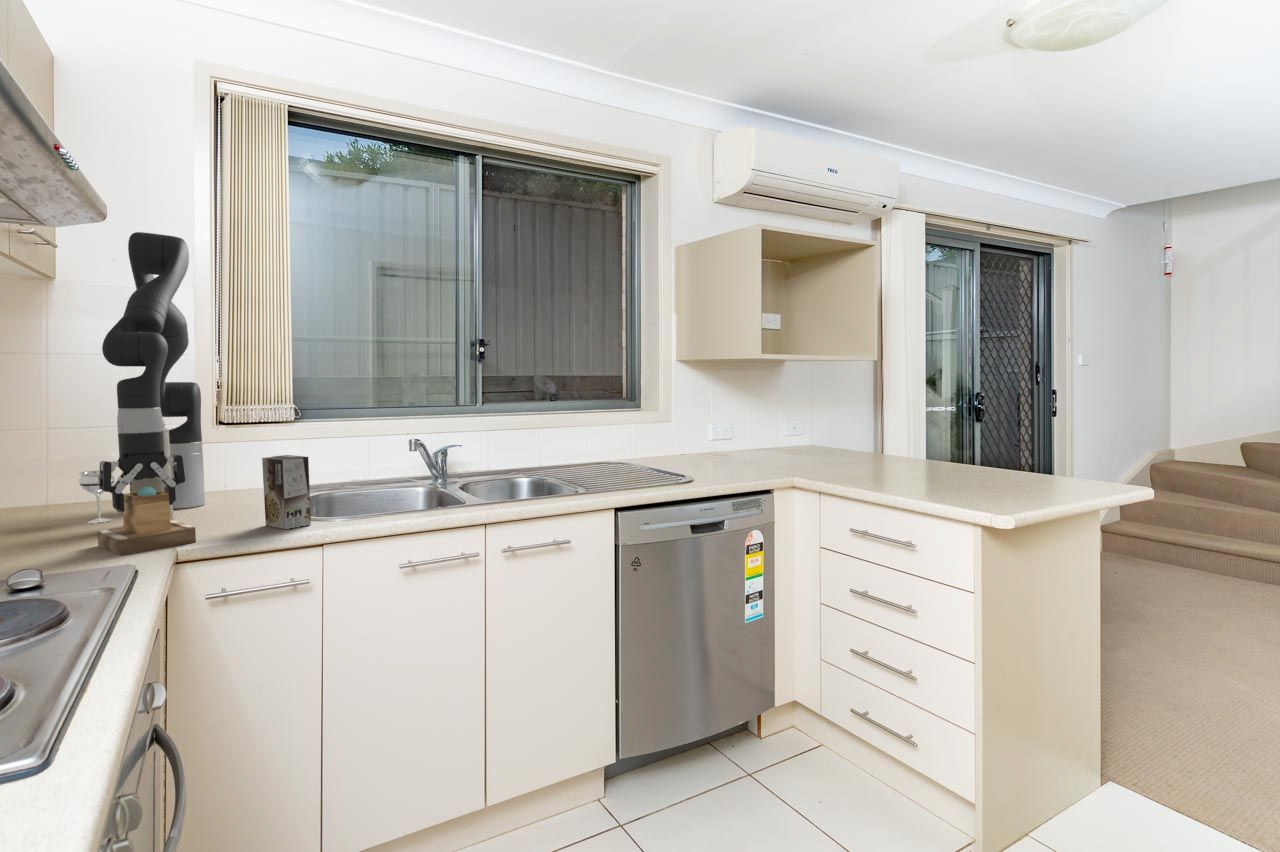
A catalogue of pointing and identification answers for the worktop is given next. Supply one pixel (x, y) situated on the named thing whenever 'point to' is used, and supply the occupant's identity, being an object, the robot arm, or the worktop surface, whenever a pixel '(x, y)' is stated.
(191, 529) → the dock
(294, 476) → the coffee box
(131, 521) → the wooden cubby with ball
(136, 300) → the robot arm
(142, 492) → the ball
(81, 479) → the wineglass
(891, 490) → the worktop surface
